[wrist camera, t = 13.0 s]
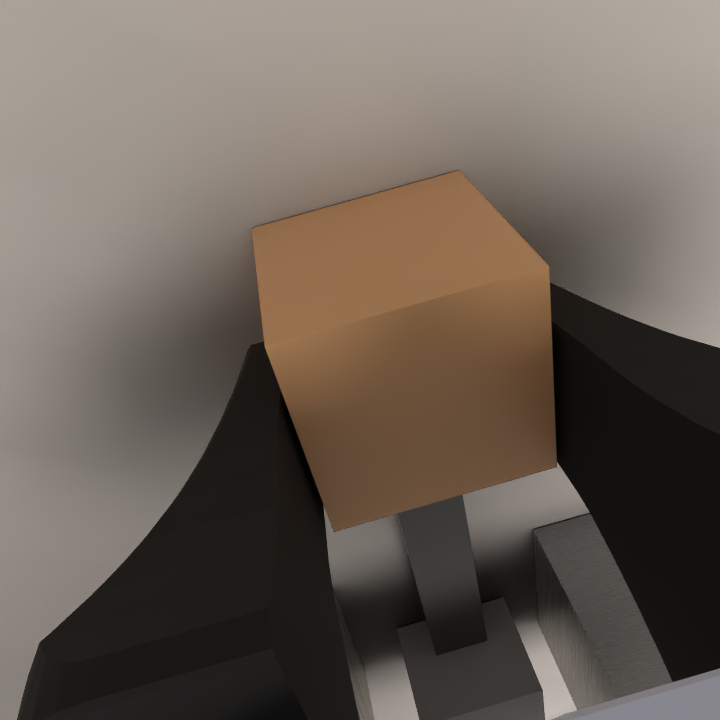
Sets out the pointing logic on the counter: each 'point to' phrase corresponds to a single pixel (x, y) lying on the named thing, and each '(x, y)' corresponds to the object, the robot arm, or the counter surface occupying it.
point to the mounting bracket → (573, 620)
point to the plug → (419, 402)
